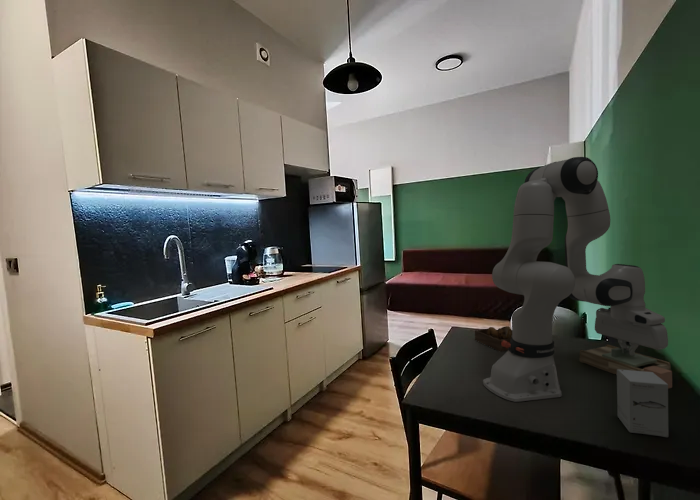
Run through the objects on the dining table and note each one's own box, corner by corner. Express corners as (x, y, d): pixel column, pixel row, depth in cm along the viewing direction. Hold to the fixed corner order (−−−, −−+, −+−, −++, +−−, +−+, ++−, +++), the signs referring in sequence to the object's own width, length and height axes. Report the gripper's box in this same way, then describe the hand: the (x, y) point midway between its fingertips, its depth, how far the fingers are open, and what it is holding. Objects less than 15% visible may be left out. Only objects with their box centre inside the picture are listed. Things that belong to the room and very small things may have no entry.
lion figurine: (516, 347, 134) (515, 326, 134) (507, 350, 132) (506, 328, 131) (487, 338, 147) (486, 319, 147) (478, 341, 145) (478, 321, 145)
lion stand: (500, 351, 131) (499, 340, 131) (475, 340, 146) (474, 330, 146) (515, 348, 133) (515, 337, 133) (489, 337, 148) (489, 328, 148)
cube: (661, 390, 95) (661, 373, 95) (643, 384, 99) (643, 368, 99) (672, 387, 96) (671, 371, 96) (654, 381, 100) (653, 365, 100)
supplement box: (629, 433, 77) (628, 380, 76) (616, 416, 84) (615, 368, 83) (670, 438, 74) (669, 384, 73) (653, 420, 81) (652, 370, 80)
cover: (634, 367, 102) (634, 357, 102) (602, 356, 112) (601, 347, 112) (656, 362, 105) (656, 352, 105) (623, 352, 115) (622, 343, 115)
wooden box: (639, 383, 100) (639, 370, 99) (579, 361, 118) (579, 350, 118) (670, 375, 103) (670, 362, 103) (608, 355, 122) (608, 344, 122)
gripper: (589, 307, 117) (590, 345, 118) (656, 321, 97) (657, 366, 98) (602, 305, 119) (603, 343, 119) (671, 318, 99) (671, 363, 100)
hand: (628, 354), depth 108 cm, fingers closed
